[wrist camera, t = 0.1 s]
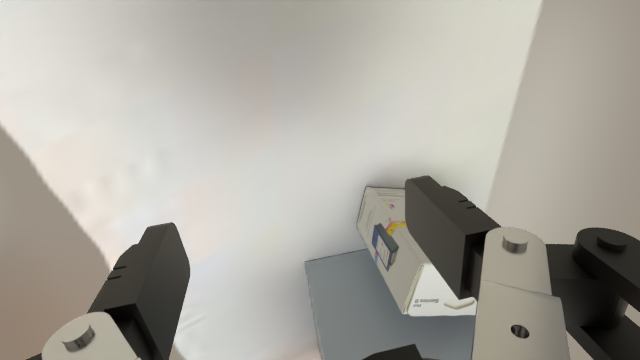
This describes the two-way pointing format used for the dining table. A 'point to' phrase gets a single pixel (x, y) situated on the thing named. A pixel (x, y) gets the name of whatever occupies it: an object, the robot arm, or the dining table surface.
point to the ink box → (405, 258)
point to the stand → (375, 314)
